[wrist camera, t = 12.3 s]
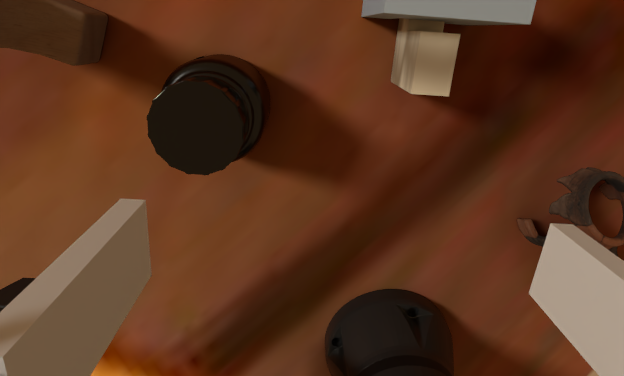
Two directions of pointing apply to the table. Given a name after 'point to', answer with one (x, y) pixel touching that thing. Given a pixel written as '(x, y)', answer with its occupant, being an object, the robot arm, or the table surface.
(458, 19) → the slotted plate
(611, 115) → the table surface
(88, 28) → the wooden block
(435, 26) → the slotted board
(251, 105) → the ink bottle
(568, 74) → the table surface
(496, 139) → the table surface
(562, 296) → the robot arm
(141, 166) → the table surface
